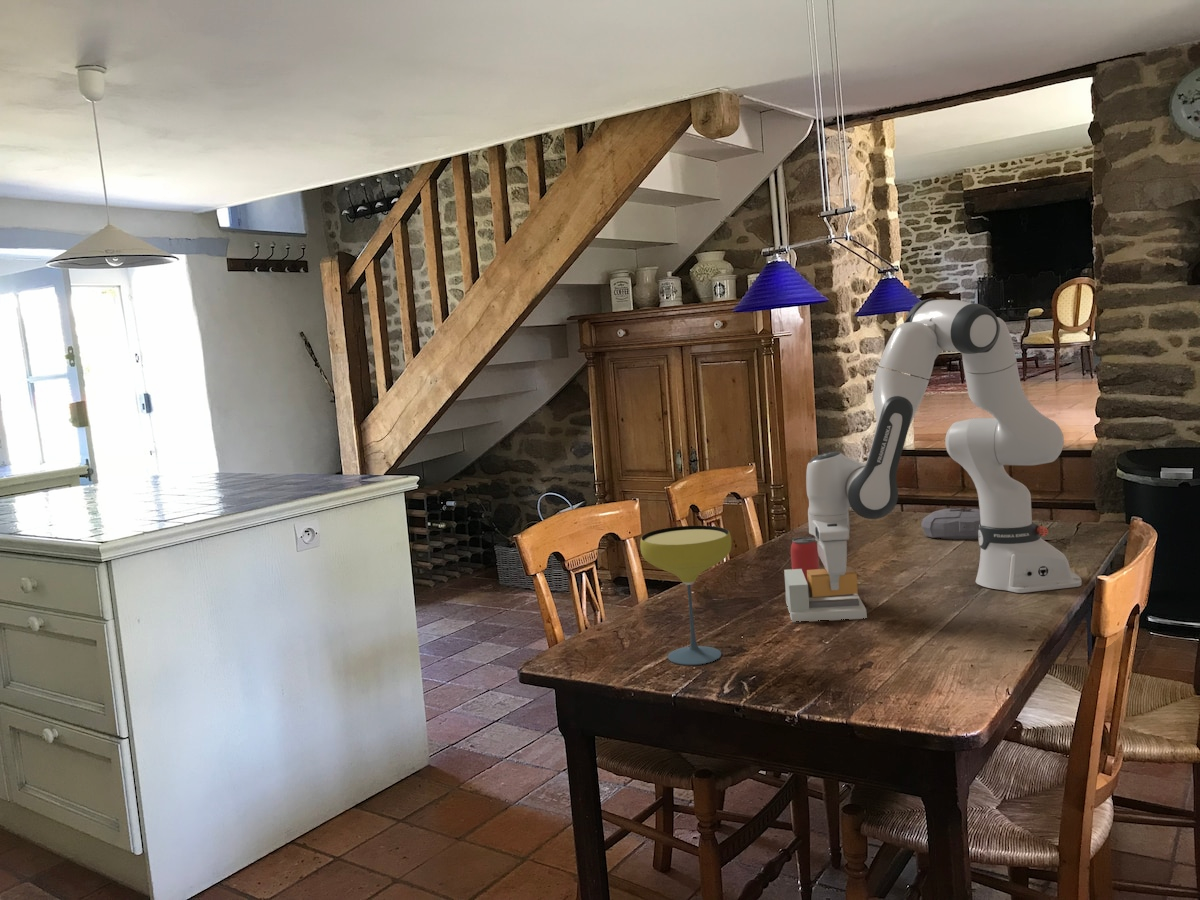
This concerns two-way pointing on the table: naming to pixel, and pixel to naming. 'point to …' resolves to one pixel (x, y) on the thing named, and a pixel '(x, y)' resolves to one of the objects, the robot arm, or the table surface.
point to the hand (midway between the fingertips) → (832, 585)
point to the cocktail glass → (687, 570)
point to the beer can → (804, 554)
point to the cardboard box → (821, 583)
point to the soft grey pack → (952, 524)
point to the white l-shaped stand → (818, 602)
